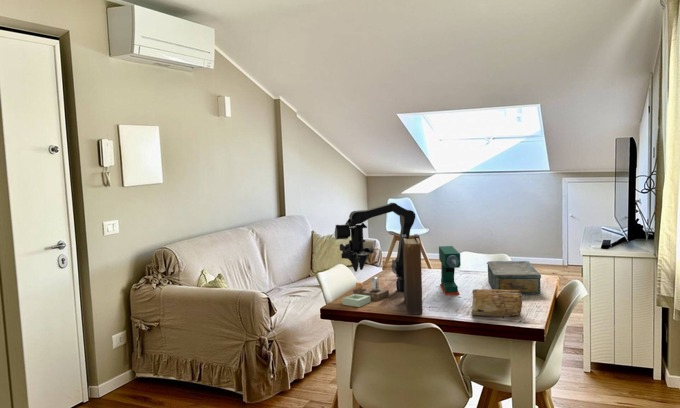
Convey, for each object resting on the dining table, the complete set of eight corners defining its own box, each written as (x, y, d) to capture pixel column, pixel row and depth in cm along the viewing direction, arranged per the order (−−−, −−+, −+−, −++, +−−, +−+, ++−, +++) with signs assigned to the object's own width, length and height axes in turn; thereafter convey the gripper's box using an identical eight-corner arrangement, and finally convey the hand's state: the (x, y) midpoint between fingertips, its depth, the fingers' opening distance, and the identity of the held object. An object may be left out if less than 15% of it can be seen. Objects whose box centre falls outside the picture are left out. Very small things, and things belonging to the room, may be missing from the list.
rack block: (370, 303, 245) (370, 295, 245) (359, 307, 238) (358, 300, 238) (354, 300, 250) (354, 293, 250) (342, 305, 243) (342, 298, 243)
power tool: (465, 302, 239) (464, 257, 238) (449, 302, 239) (448, 257, 238) (454, 285, 271) (453, 245, 269) (439, 286, 271) (438, 246, 270)
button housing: (366, 295, 259) (365, 288, 259) (360, 297, 256) (360, 290, 256) (358, 294, 262) (358, 287, 262) (353, 296, 258) (352, 289, 258)
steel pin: (380, 296, 254) (379, 277, 253) (376, 298, 251) (375, 278, 250) (374, 295, 256) (373, 276, 255) (370, 297, 253) (369, 278, 252)
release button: (363, 290, 259) (363, 282, 259) (360, 291, 257) (359, 283, 256) (358, 289, 261) (358, 281, 260) (355, 290, 258) (354, 283, 258)
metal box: (529, 279, 277) (529, 260, 277) (542, 295, 245) (542, 273, 245) (486, 280, 281) (486, 261, 280) (493, 296, 249) (493, 274, 248)
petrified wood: (520, 308, 224) (520, 286, 221) (522, 324, 212) (523, 301, 209) (471, 306, 229) (471, 284, 226) (471, 322, 217) (471, 299, 214)
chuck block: (388, 296, 254) (388, 290, 254) (378, 301, 247) (378, 294, 247) (372, 294, 260) (372, 288, 259) (362, 299, 253) (361, 292, 252)
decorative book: (404, 300, 246) (401, 234, 244) (420, 300, 246) (417, 234, 244) (406, 315, 223) (404, 242, 221) (424, 315, 223) (421, 242, 220)
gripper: (354, 234, 269) (356, 265, 270) (331, 239, 254) (332, 272, 255) (373, 235, 262) (374, 267, 263) (350, 241, 247) (352, 275, 249)
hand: (358, 270), depth 258 cm, fingers open, 4 cm apart
